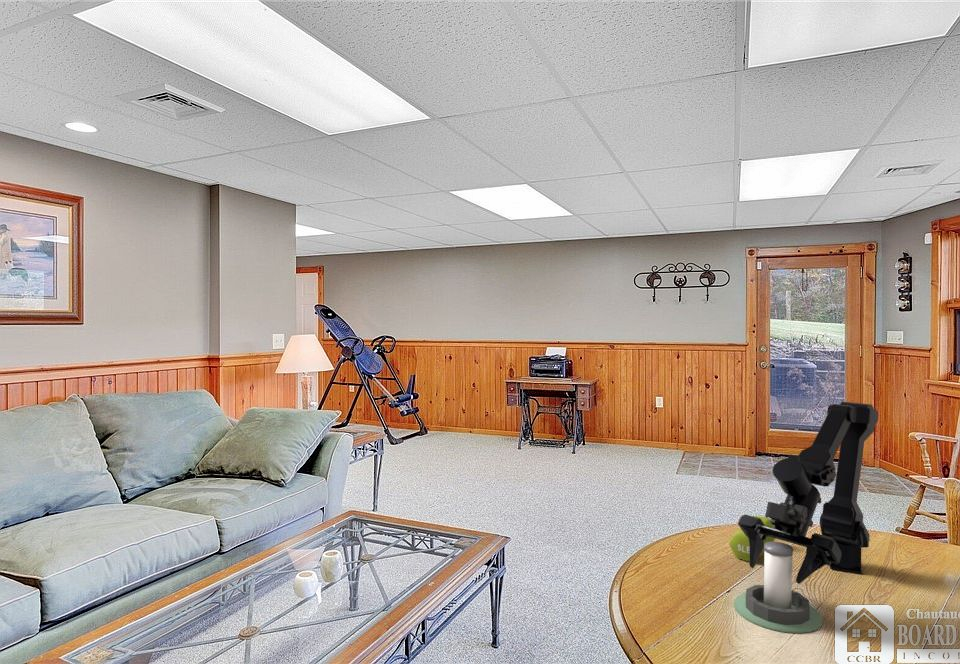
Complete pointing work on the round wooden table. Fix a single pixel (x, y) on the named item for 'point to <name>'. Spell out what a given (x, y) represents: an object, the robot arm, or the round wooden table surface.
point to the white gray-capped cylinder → (778, 574)
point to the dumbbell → (746, 541)
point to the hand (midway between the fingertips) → (773, 574)
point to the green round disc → (778, 612)
